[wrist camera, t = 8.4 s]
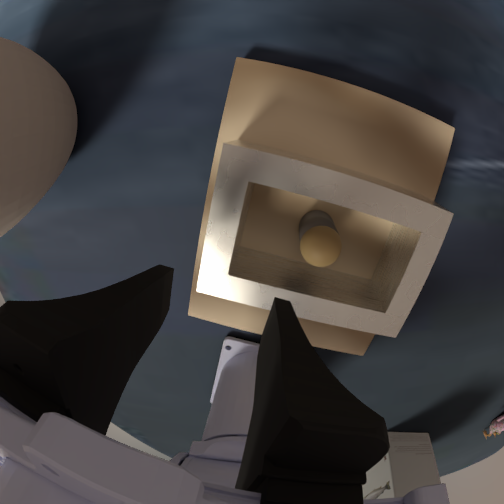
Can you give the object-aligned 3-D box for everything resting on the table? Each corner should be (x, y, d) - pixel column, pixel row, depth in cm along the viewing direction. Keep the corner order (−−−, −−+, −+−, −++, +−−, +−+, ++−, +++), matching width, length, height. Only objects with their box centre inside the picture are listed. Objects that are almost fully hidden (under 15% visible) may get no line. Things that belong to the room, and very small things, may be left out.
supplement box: (384, 430, 28) (398, 522, 17) (429, 431, 28) (449, 512, 16) (354, 458, 31) (359, 539, 20) (398, 459, 31) (408, 532, 20)
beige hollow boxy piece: (381, 302, 20) (395, 337, 16) (213, 260, 20) (196, 291, 16) (424, 195, 16) (453, 213, 13) (238, 139, 17) (223, 142, 13)
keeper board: (360, 343, 23) (371, 393, 18) (193, 304, 24) (170, 350, 18) (444, 127, 16) (490, 132, 11) (240, 62, 16) (221, 38, 11)
